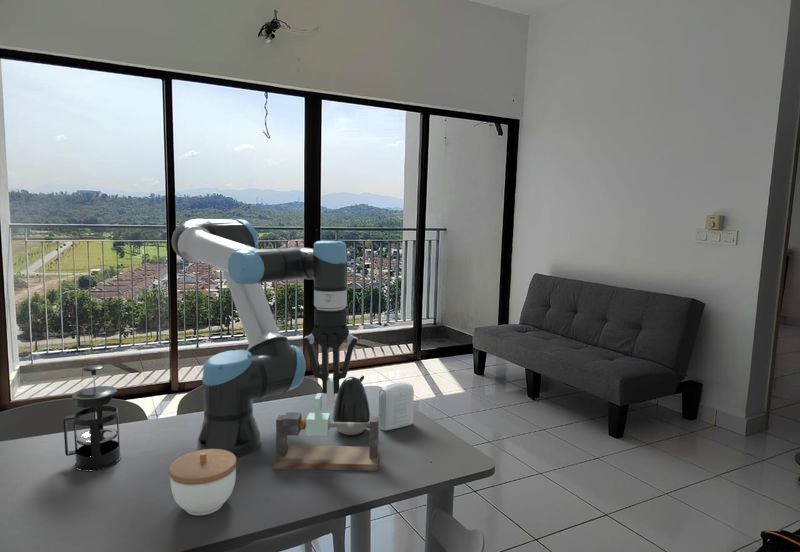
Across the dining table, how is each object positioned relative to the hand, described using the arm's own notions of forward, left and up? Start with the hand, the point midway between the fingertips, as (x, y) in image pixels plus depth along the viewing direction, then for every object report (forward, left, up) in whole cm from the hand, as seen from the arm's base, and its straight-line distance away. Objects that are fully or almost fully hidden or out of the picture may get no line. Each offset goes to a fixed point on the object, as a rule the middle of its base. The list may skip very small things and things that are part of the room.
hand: (331, 406), depth 122 cm
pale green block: (-3, 0, -7) cm, 7 cm away
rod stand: (-1, 0, -14) cm, 14 cm away
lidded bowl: (-23, -20, -14) cm, 33 cm away
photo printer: (+15, +21, -14) cm, 30 cm away
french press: (-55, -3, -14) cm, 57 cm away
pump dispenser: (+3, +17, -14) cm, 22 cm away
